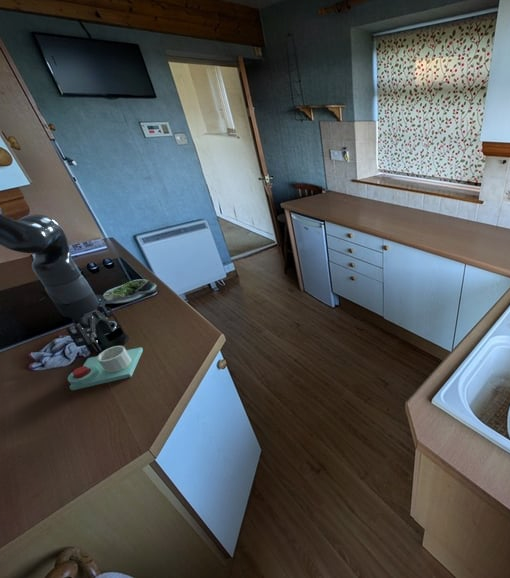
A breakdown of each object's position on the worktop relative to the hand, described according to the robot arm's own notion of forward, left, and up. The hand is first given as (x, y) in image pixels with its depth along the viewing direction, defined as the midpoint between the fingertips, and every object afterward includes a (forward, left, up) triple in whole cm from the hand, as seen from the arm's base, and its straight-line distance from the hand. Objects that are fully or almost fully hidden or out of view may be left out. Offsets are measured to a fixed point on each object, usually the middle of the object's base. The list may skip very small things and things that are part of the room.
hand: (102, 341), depth 83 cm
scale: (-3, +1, -11) cm, 11 cm away
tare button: (-7, -2, -8) cm, 11 cm away
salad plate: (-10, +49, -11) cm, 51 cm away
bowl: (0, 0, -10) cm, 10 cm away
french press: (-7, +15, -11) cm, 20 cm away
